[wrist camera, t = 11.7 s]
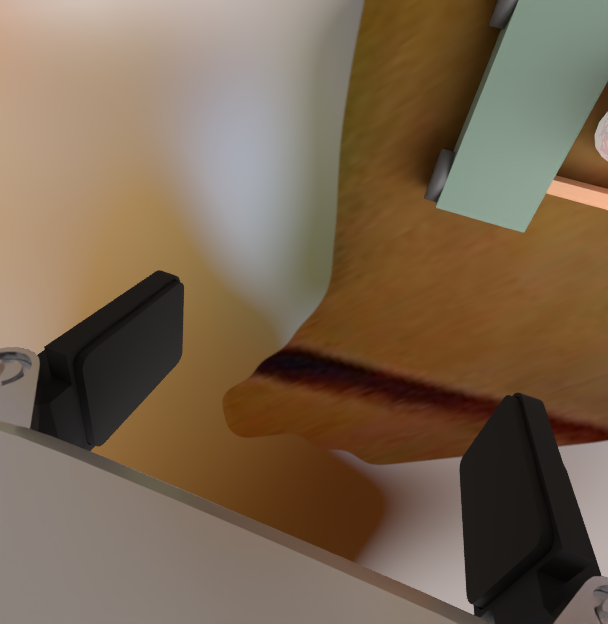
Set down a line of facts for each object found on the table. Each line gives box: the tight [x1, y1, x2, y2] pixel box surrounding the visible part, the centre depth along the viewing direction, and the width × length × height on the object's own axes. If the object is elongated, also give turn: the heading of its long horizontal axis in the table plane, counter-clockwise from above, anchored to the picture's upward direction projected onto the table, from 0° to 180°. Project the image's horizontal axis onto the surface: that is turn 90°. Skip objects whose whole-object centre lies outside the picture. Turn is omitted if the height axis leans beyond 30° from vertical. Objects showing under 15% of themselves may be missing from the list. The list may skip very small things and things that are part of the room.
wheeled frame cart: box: [424, 0, 608, 233], centre depth 27 cm, size 16×18×4 cm
